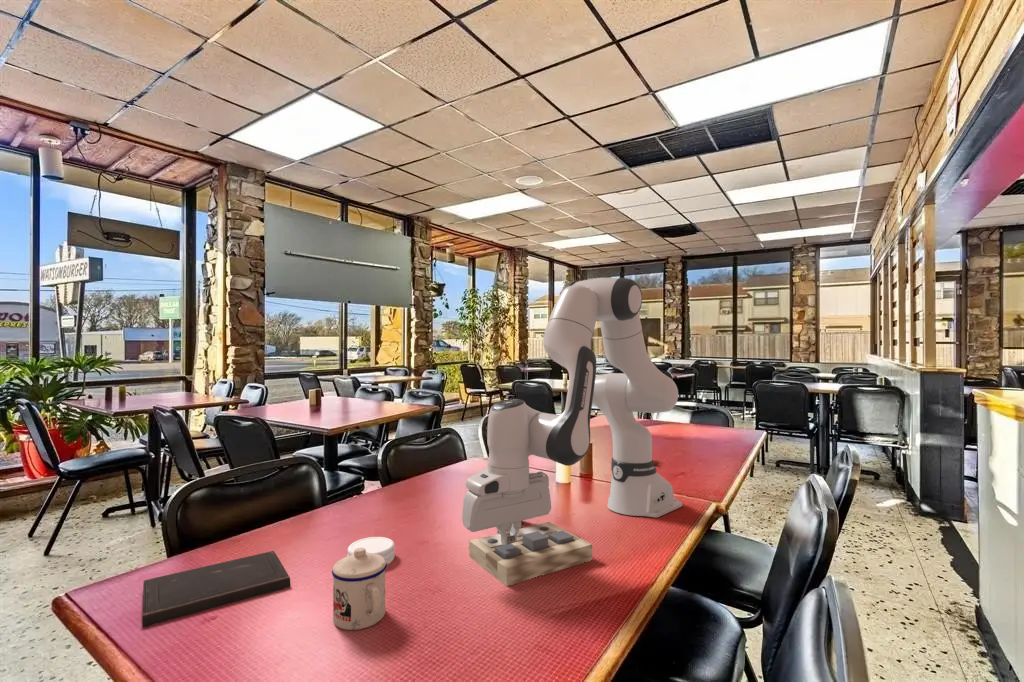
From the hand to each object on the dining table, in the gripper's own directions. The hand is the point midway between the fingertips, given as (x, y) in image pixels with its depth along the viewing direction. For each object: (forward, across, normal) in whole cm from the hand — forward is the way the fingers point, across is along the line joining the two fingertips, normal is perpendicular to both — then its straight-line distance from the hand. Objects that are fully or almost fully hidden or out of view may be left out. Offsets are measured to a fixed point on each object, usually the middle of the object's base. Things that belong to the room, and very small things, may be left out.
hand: (508, 542), depth 103 cm
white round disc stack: (+6, +23, -20) cm, 31 cm away
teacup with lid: (+5, +31, +3) cm, 32 cm away
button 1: (+4, 0, 0) cm, 4 cm away
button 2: (+4, -14, 0) cm, 14 cm away
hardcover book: (+6, +52, -23) cm, 57 cm away
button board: (+6, -7, -2) cm, 9 cm away
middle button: (+3, -7, 0) cm, 7 cm away
